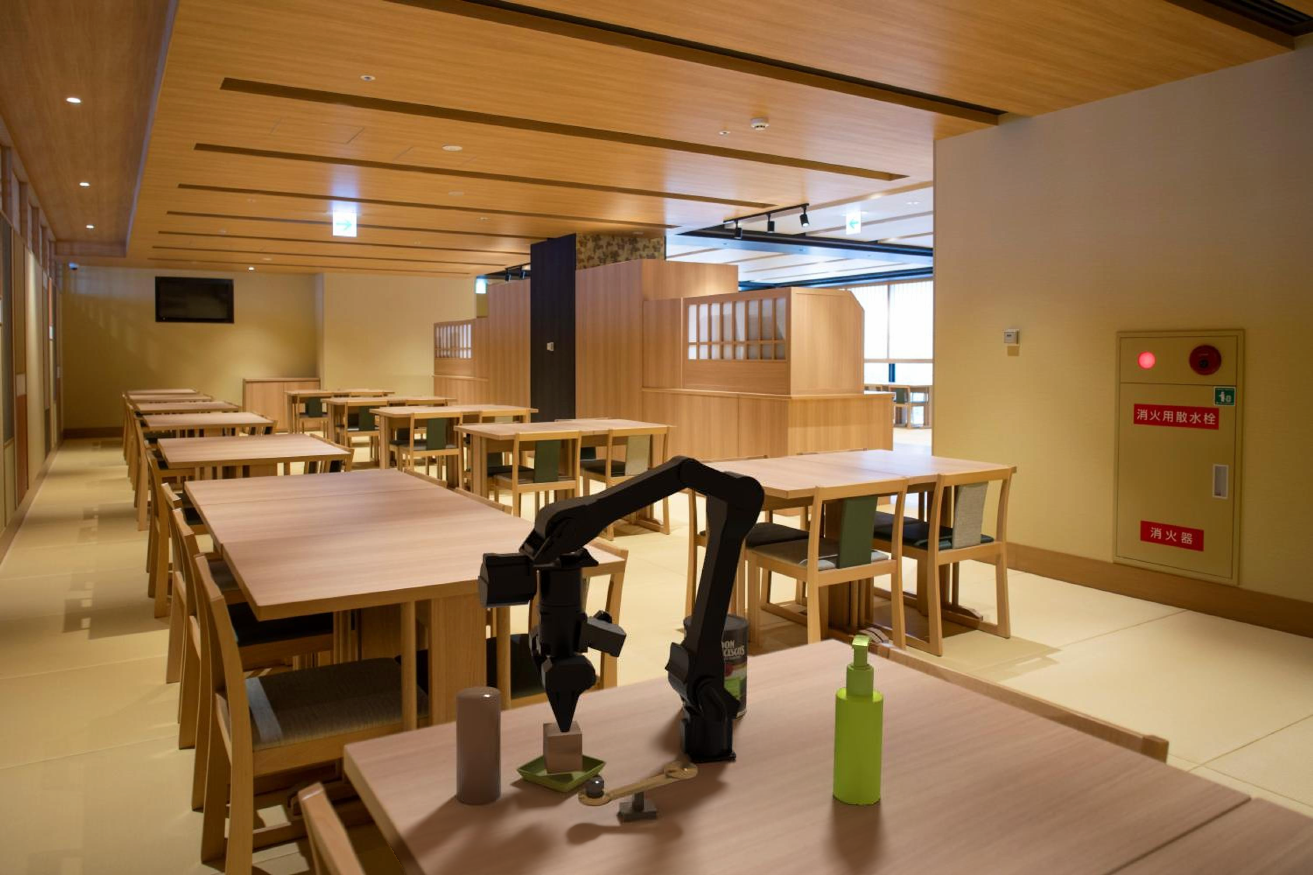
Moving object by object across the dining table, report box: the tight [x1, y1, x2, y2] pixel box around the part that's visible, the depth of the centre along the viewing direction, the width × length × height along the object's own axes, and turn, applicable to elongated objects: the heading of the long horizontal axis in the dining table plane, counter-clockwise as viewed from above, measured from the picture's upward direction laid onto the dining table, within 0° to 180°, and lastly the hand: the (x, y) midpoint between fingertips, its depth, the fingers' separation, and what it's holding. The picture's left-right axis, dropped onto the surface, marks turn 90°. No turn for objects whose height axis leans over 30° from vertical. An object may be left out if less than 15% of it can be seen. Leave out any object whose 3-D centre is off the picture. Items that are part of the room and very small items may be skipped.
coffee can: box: [681, 613, 750, 719], centre depth 149 cm, size 10×10×14 cm
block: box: [542, 720, 583, 774], centre depth 125 cm, size 4×4×5 cm
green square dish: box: [515, 753, 607, 793], centre depth 125 cm, size 9×9×2 cm
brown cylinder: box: [455, 685, 502, 806], centre depth 119 cm, size 6×6×13 cm
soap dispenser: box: [832, 634, 884, 806], centre depth 120 cm, size 6×7×20 cm
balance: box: [577, 760, 698, 823], centre depth 115 cm, size 15×4×5 cm, turn 104°
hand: (559, 718), depth 124 cm, fingers open, 9 cm apart
